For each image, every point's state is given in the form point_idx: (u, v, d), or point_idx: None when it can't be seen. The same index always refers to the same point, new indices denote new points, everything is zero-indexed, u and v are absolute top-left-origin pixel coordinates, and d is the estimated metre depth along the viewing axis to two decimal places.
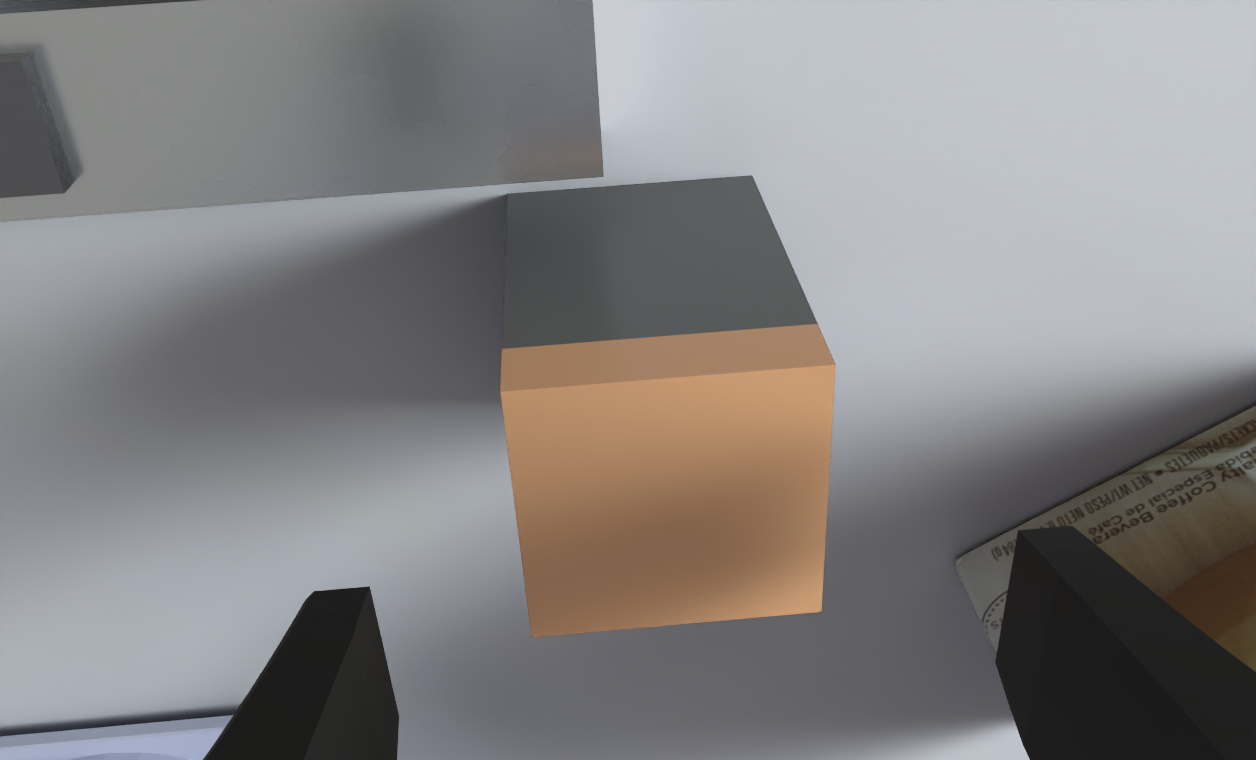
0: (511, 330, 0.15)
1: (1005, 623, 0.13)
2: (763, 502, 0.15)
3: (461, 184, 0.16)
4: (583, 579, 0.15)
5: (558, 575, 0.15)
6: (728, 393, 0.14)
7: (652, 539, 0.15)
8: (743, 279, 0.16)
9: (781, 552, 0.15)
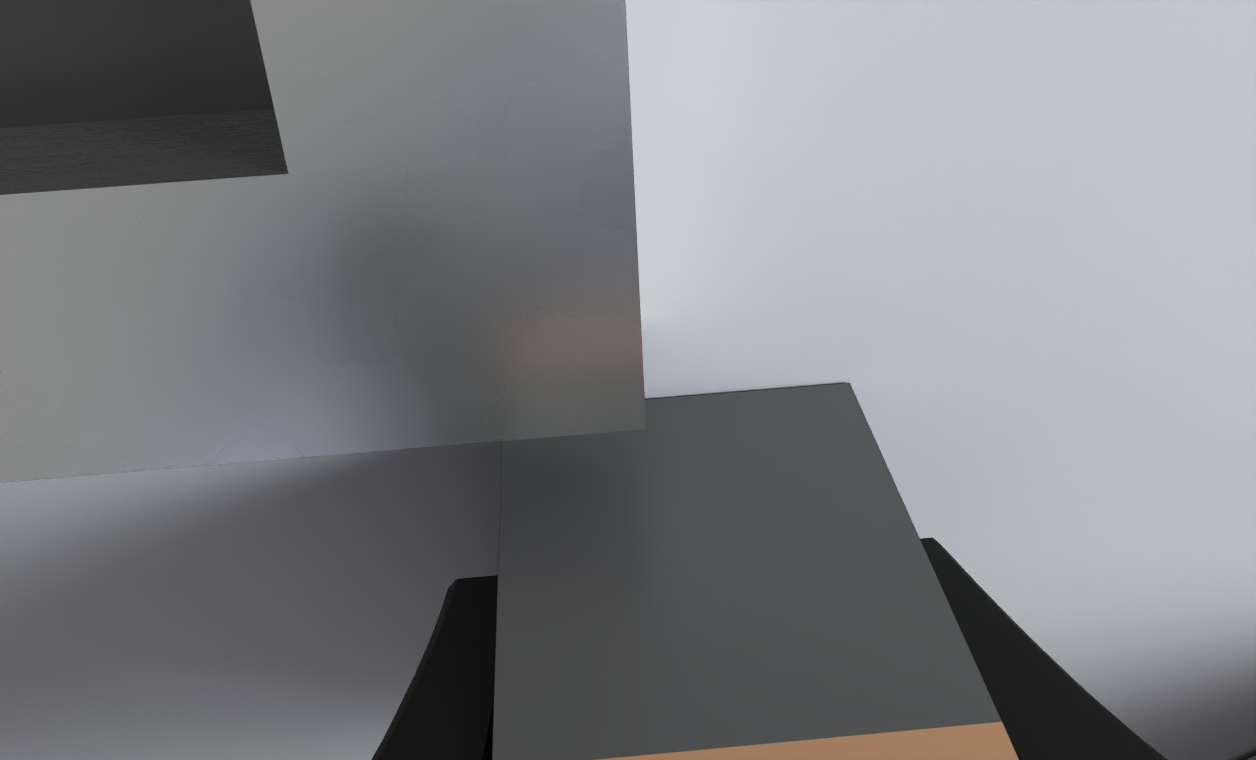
0: (507, 722, 0.09)
1: None
2: None
3: (432, 440, 0.11)
4: None
5: None
6: None
7: None
8: (866, 607, 0.10)
9: None
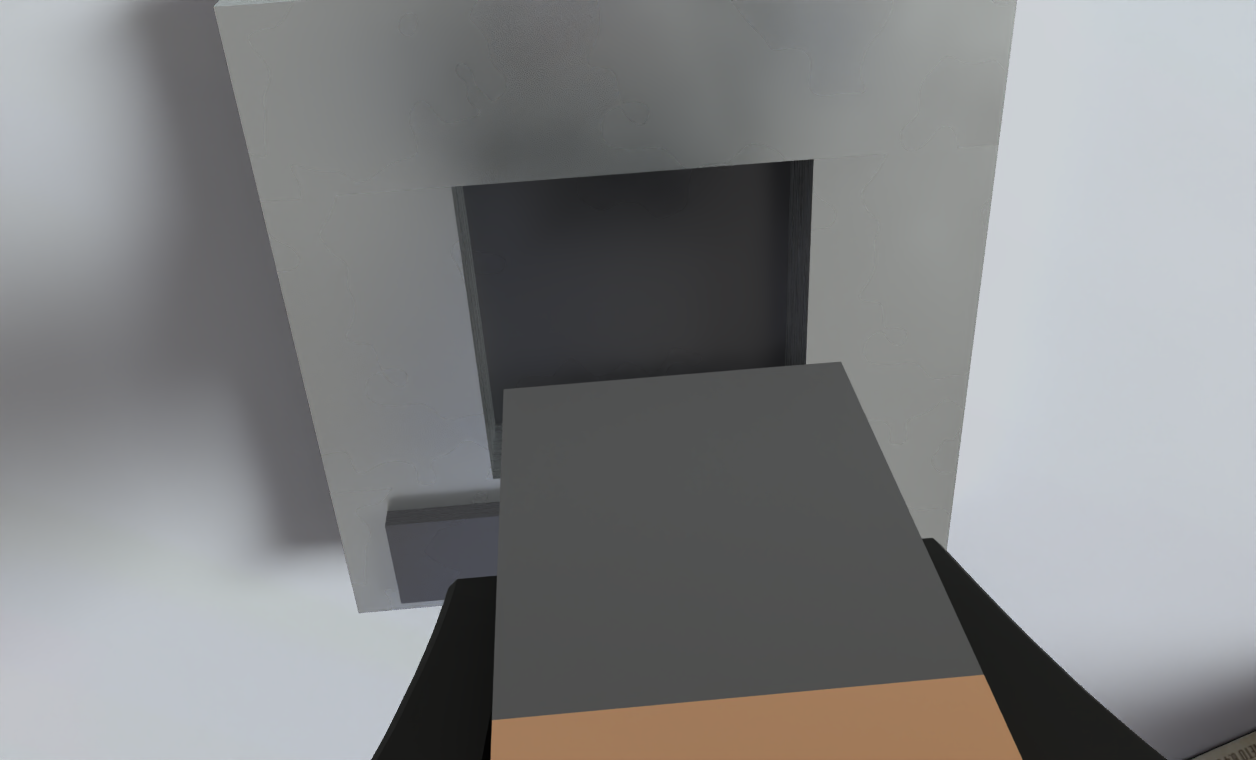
0: (507, 677, 0.10)
1: None
2: None
3: None
4: None
5: None
6: None
7: None
8: (854, 569, 0.10)
9: None
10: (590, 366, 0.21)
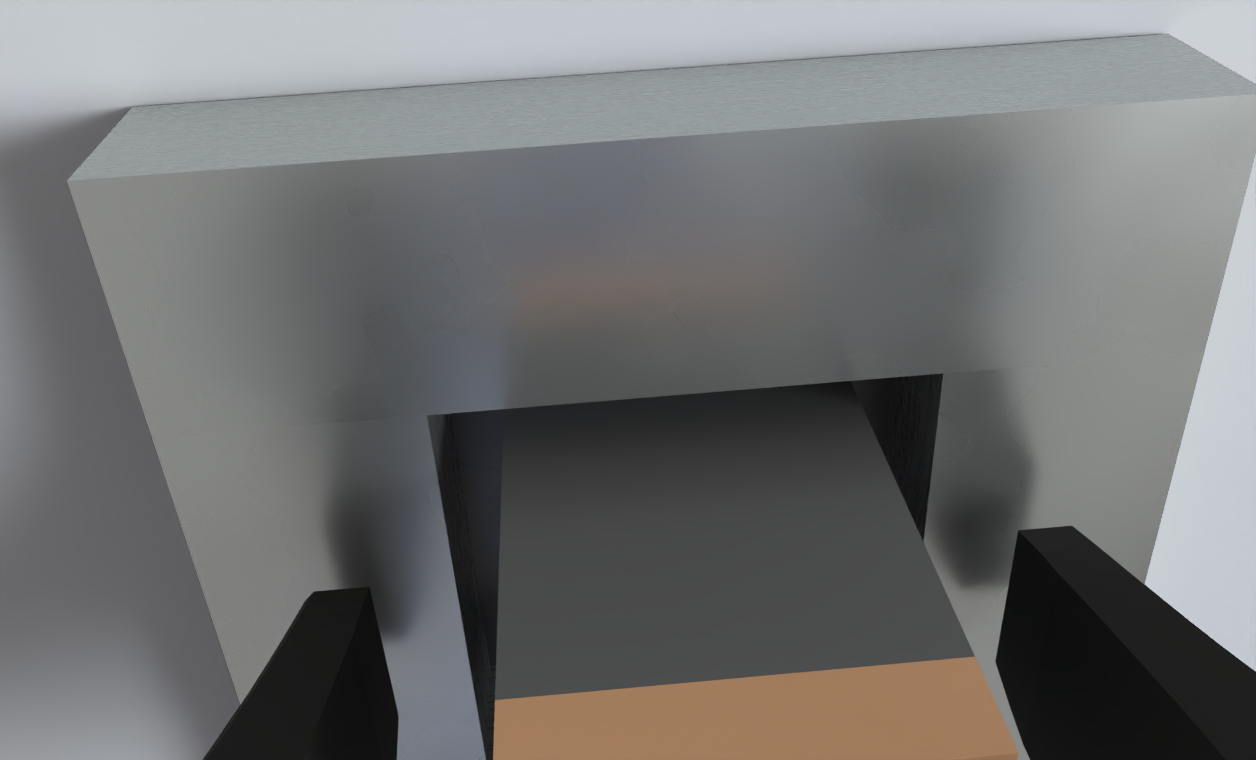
0: (509, 658, 0.10)
1: (1006, 623, 0.13)
2: None
3: None
4: None
5: None
6: None
7: None
8: (849, 554, 0.11)
9: None
10: None
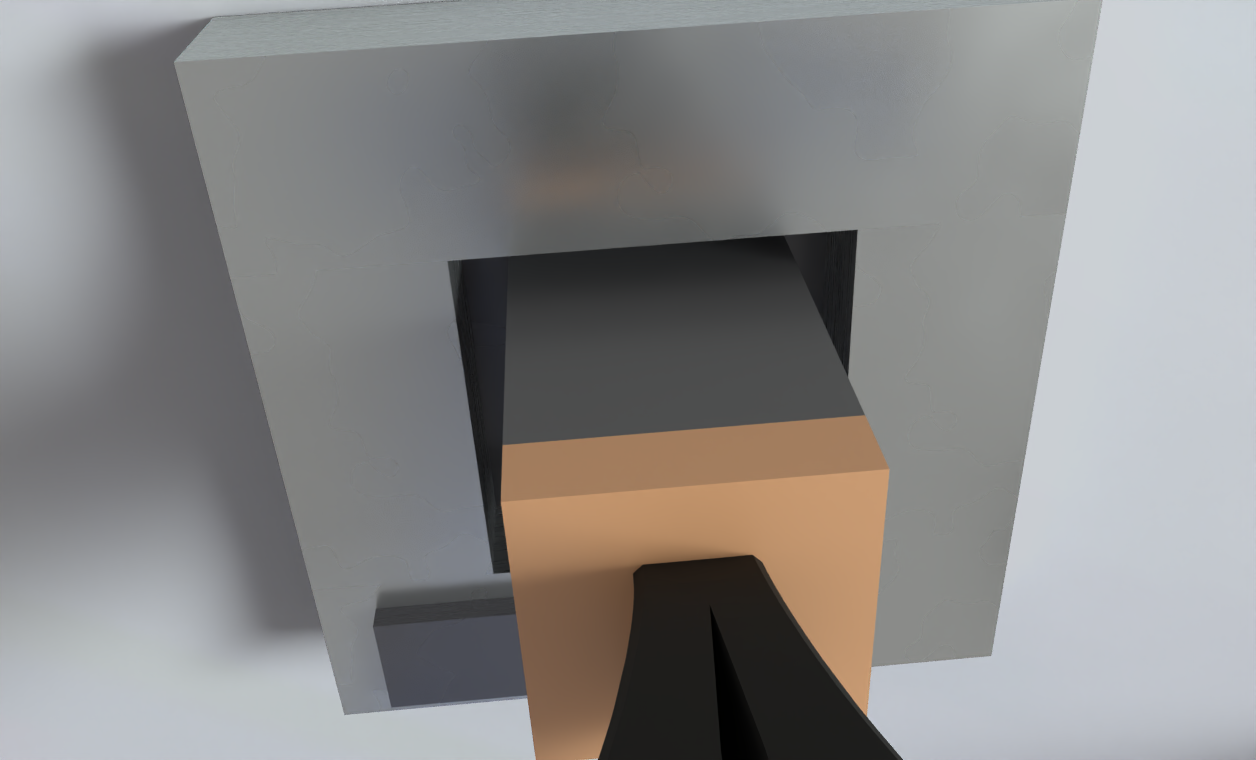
0: (513, 421, 0.13)
1: None
2: (802, 619, 0.13)
3: (872, 662, 0.20)
4: (596, 702, 0.13)
5: (568, 697, 0.13)
6: (766, 501, 0.12)
7: None
8: (777, 355, 0.14)
9: None
10: None
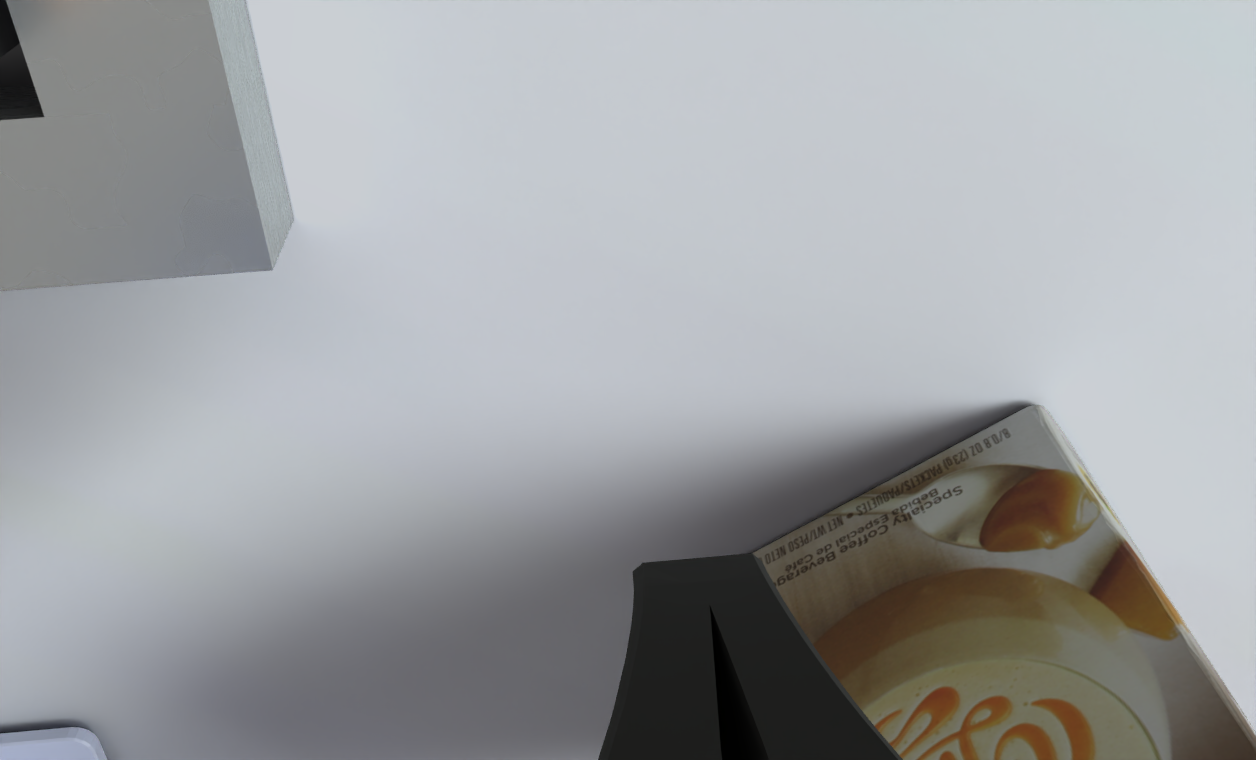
0: None
1: None
2: None
3: (149, 276, 0.19)
4: None
5: None
6: None
7: None
8: None
9: None
10: None
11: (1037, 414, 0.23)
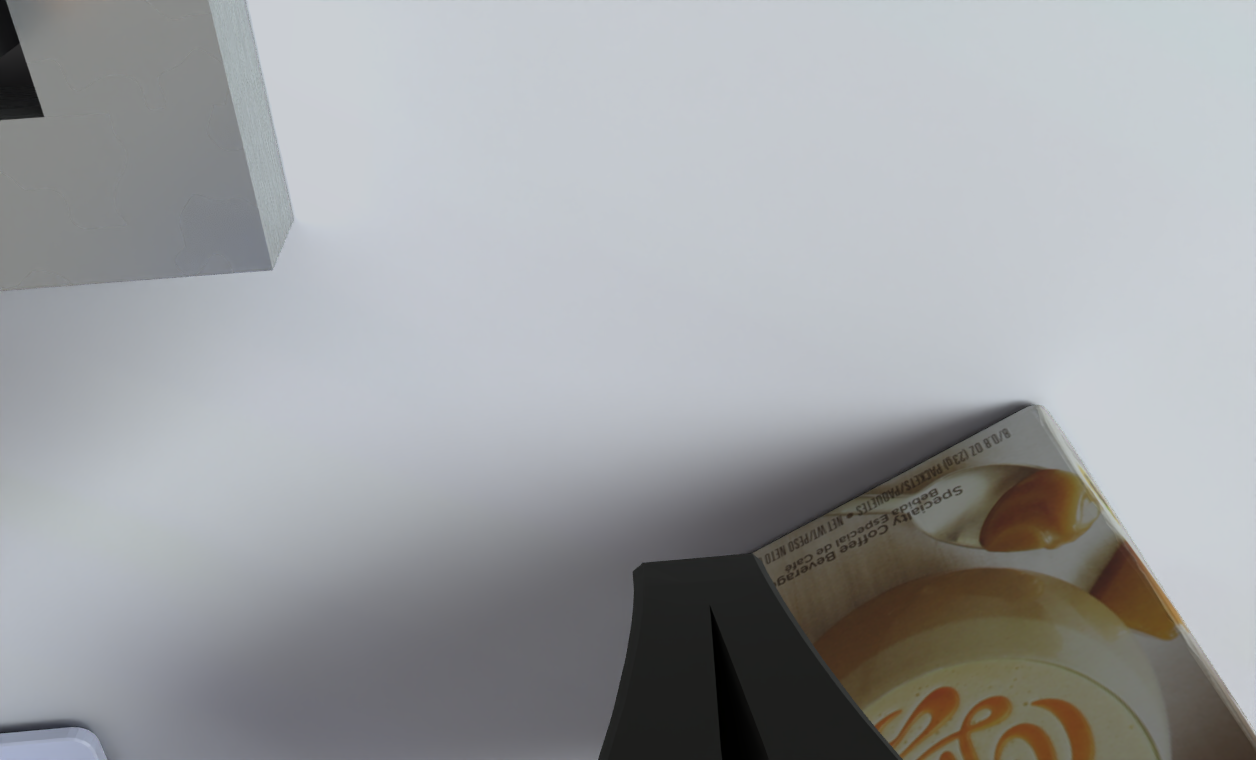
0: None
1: None
2: None
3: (149, 276, 0.19)
4: None
5: None
6: None
7: None
8: None
9: None
10: None
11: (1037, 414, 0.23)
